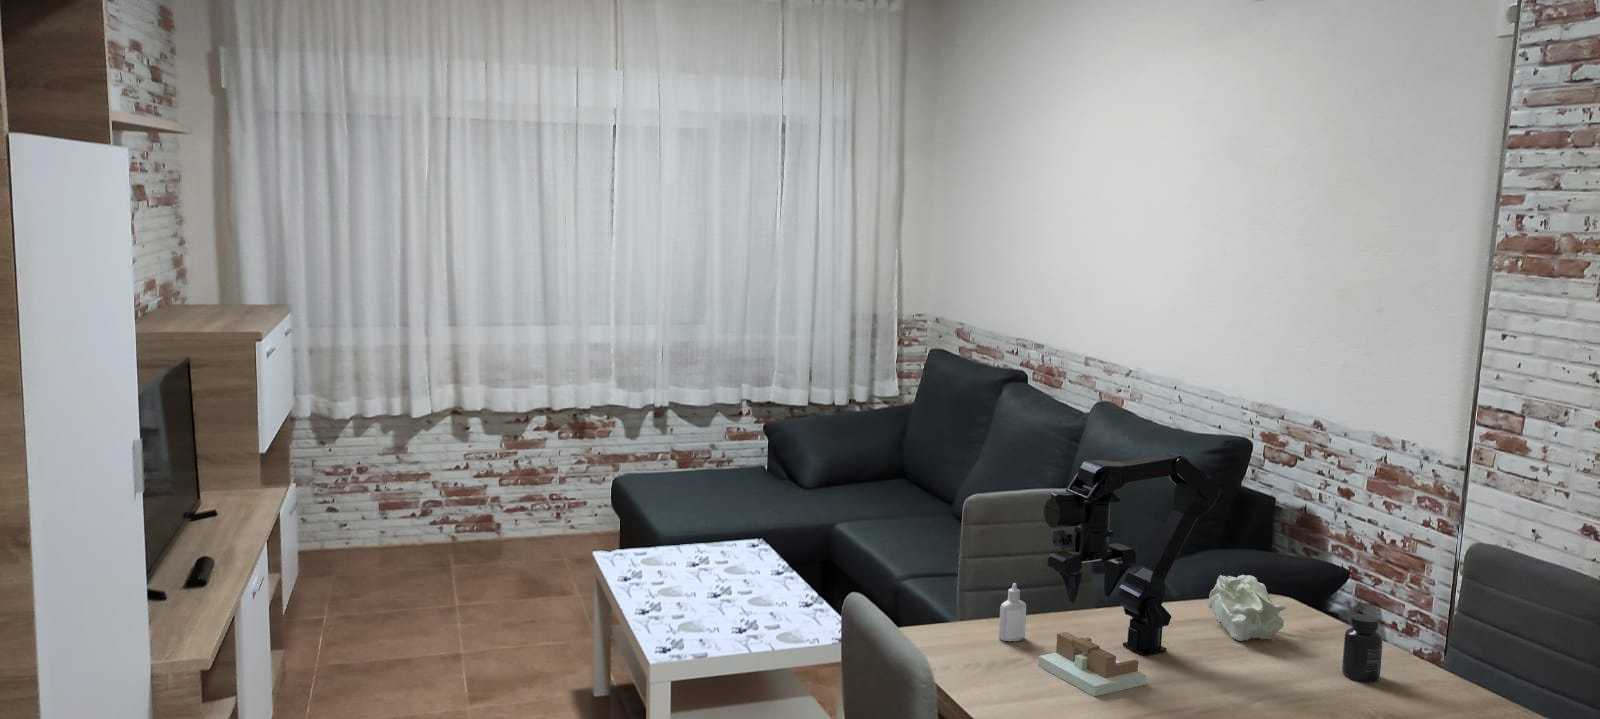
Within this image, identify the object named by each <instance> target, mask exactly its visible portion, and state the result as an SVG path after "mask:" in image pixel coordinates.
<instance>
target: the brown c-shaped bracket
mask: <svg viewBox="0 0 1600 719" xmlns="http://www.w3.org/2000/svg"><path fill="white" fill-rule="evenodd" d="M1092 639H1093V638H1091V637H1089V636H1087V637H1086V636H1085V637H1079V636H1076V635H1073V633H1070V632H1068V631H1065V632H1059V633H1056V647H1055V648H1056V649H1055V653H1057V654H1059V655H1061V656H1063V657H1065V658H1067V659H1069V660H1071V661H1073V662H1074V661H1075V655H1080V654H1083V652H1085V653H1087V654H1088V663H1087V669H1088V670H1090V671H1092V672H1094V673H1096V674H1098V675H1100V676H1102V677H1104V678H1109V677H1114V676H1118V675H1123V674H1127V673H1132V672H1136V671H1139V661H1138V660H1137V659H1130V660H1125V661H1120V663H1116V660H1117V656H1116V655H1114V654H1113V653H1111V652H1108V651H1106V650H1105V649H1103V648H1101V646H1100V645H1098V644H1096V643H1094V642H1092Z"/></svg>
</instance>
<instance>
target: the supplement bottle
mask: <svg viewBox="0 0 1600 719" xmlns="http://www.w3.org/2000/svg"><path fill="white" fill-rule="evenodd" d="M1350 620H1351V621H1350V627H1349V628H1347V629H1346V630H1345V632H1344V638H1343V639H1344V641H1343V651H1342V652H1343V653H1342V667H1341V668H1342V669H1341V672H1342V675H1343V676H1344V677H1346V678H1347V677H1348V679H1349V680H1353V681H1356V682H1360V681H1361V682H1360V683H1376V682H1378V681H1379V680H1380V679H1381V672H1382V658H1383V656H1382V655H1383V645H1384V644H1383V643H1384V642H1383V641H1384V638H1383V635H1382V634H1381V632H1379V631H1378V630H1379V619H1378V618H1377V617H1375V616H1373V615H1372V616H1371V615H1368V614H1353V615H1351V618H1350Z"/></svg>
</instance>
